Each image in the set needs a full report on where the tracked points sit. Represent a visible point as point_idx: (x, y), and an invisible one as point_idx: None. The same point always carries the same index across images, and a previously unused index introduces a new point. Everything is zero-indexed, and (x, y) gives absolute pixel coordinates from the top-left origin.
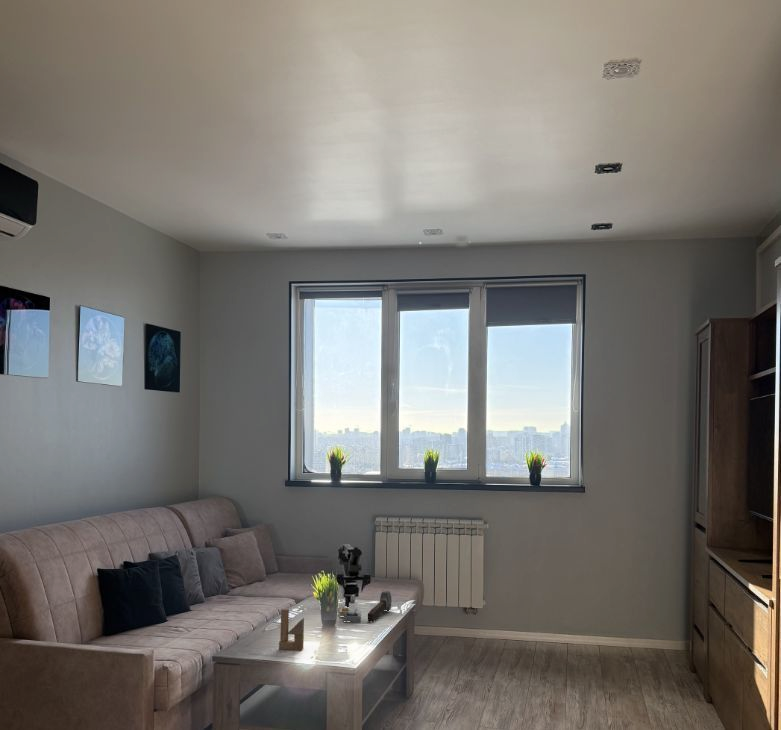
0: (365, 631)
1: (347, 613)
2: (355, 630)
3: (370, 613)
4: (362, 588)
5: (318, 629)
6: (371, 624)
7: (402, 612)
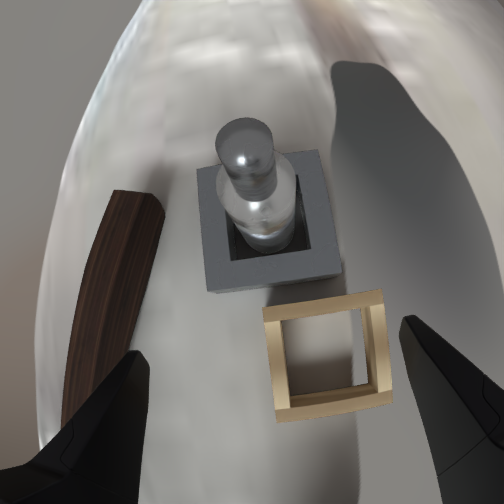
0: (177, 49)
1: (310, 244)
2: (221, 49)
3: (128, 196)
4: (106, 382)
5: (389, 44)
6: (146, 158)
7: (39, 440)
